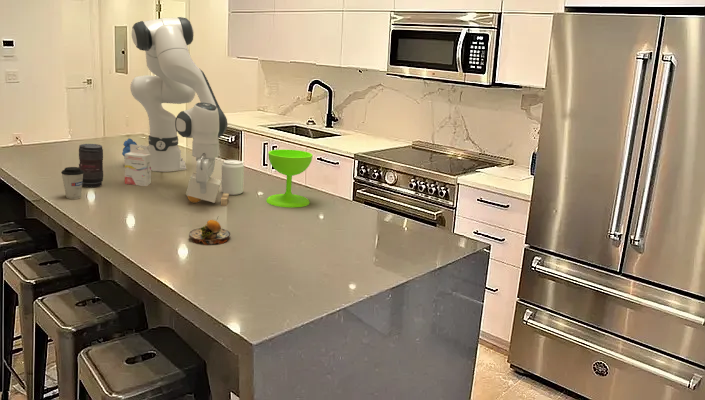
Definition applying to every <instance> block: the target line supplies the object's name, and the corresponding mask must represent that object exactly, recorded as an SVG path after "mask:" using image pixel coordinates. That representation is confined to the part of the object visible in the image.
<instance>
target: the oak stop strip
mask: <svg viewBox="0 0 705 400" xmlns="http://www.w3.org/2000/svg"><path fill="white" fill-rule="evenodd" d="M229 200H230V195H229V194H227V193H223V192H222V196H221V198H220V206H221V207H227V206H228V204H229Z"/></svg>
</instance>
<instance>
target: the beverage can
mask: <svg viewBox="0 0 705 400" xmlns="http://www.w3.org/2000/svg"><path fill="white" fill-rule="evenodd" d="M243 162H244V161H242V160H236V159H225V160H223V162H222V164H221V179H220V180H221V184H220V189H221V190H220V191H221V193H222V194H223V193H227V194H229V196H237V195H241V194H243V192H244V176H245V173H244V172H245V165H244V163H243Z"/></svg>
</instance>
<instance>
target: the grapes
mask: <svg viewBox="0 0 705 400" xmlns="http://www.w3.org/2000/svg"><path fill="white" fill-rule="evenodd" d="M130 144H133V145H138V144H137V142H136V141H134V140H133V139H132V138H128V139H127V140H125V141H123V148H122V153H121V155H122V156H123V157H124V160H125V154H126V153H129V152H130Z"/></svg>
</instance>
